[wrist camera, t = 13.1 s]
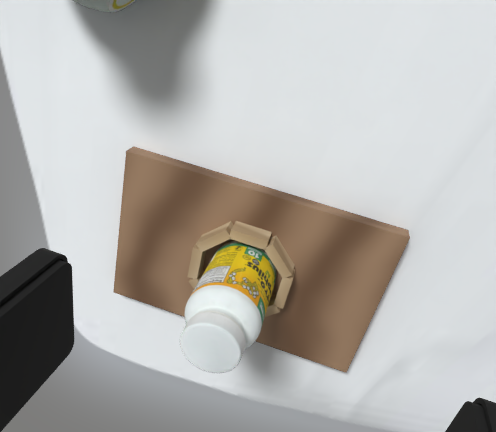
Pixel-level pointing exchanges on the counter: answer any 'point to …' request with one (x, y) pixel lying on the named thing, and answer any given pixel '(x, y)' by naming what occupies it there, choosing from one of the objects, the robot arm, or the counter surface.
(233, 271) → the supplement bottle
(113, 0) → the air freshener
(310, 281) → the wooden board
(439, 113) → the counter surface
